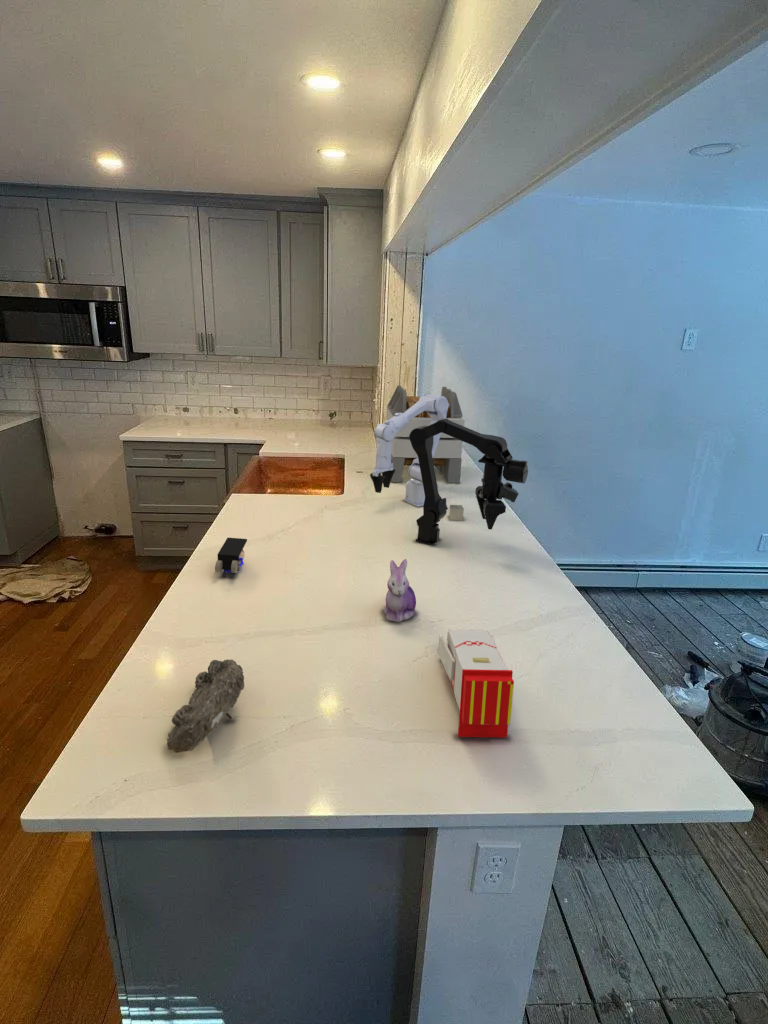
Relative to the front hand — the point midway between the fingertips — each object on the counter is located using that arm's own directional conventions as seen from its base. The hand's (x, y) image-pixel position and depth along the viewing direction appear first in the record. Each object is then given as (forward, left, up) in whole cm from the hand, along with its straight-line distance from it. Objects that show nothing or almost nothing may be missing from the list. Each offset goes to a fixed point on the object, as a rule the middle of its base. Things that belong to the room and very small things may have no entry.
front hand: (487, 524), depth 183 cm
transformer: (-53, +80, -11) cm, 96 cm away
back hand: (-47, +21, -2) cm, 52 cm away
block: (-18, +28, -11) cm, 35 cm away
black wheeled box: (-63, -49, -11) cm, 81 cm away
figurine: (-9, -49, -11) cm, 51 cm away
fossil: (-26, -102, -11) cm, 106 cm away
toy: (+16, -72, -11) cm, 74 cm away
